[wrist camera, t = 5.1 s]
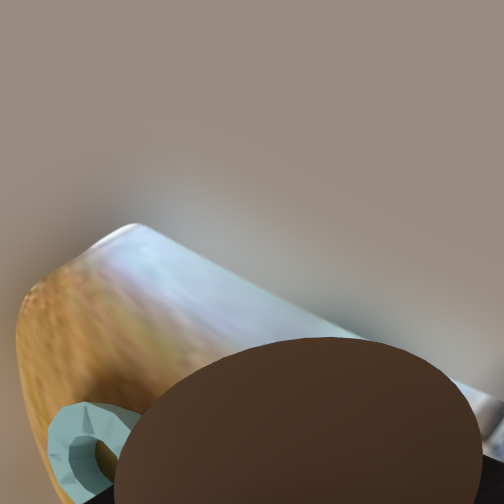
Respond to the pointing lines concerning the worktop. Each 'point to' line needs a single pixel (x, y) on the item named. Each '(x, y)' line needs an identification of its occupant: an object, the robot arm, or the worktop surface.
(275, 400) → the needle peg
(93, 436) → the bead
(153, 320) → the worktop surface
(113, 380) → the worktop surface
